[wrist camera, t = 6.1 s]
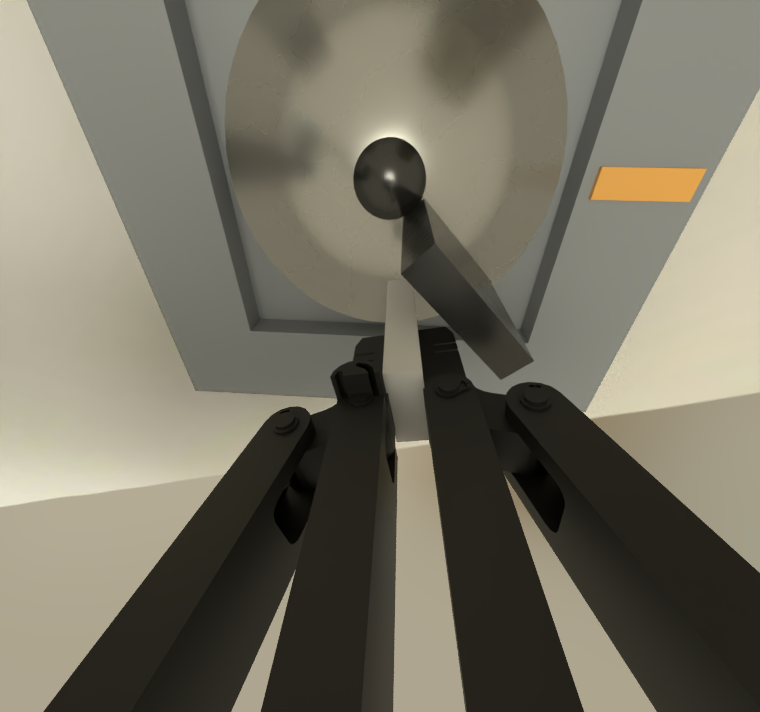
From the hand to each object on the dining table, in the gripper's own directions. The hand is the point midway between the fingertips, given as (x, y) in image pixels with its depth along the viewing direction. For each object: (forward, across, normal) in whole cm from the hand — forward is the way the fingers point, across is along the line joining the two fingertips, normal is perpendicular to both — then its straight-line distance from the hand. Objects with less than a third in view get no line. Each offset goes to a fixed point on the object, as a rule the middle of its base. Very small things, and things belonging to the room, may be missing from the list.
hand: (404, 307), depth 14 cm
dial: (+4, 0, +5) cm, 6 cm away
